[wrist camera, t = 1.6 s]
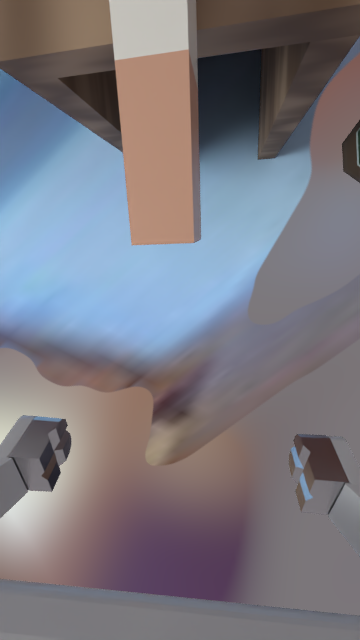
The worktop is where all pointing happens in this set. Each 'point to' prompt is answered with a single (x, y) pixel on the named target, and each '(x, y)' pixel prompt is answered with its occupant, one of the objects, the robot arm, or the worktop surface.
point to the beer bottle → (352, 153)
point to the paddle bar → (159, 117)
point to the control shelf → (212, 39)
